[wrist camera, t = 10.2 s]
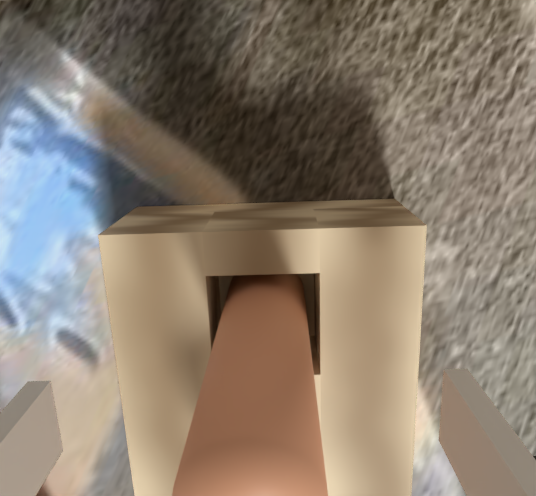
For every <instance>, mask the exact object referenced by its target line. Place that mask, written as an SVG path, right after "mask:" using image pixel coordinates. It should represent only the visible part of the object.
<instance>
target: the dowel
mask: <svg viewBox="0 0 536 496" xmlns="http://www.w3.org/2000/svg"><path fill="white" fill-rule="evenodd" d="M172 496H328V490H327V482H326V473H325V465H324V456H323V448H322V439H321V431H320V423H319V414H318V406H317V397H316V389H315V380H314V372H313V363H312V355H311V346H310V338H309V329H308V321H307V313H306V304H305V296H304V288H303V284H302V281H301V279H300V277H299V276H298V274H269V275H234V276H233V278H232V280H231V283H230V286H229V290H228V293H227V297H226V300H225V304H224V307H223V311H222V315H221V318H220V322H219V325H218V329H217V332H216V336H215V340H214V343H213V347H212V350H211V354H210V357H209V361H208V365H207V368H206V372H205V375H204V379H203V382H202V386H201V389H200V393H199V397H198V400H197V404H196V407H195V411H194V414H193V418H192V422H191V425H190V429H189V432H188V436H187V439H186V443H185V447H184V450H183V454H182V457H181V461H180V464H179V468H178V472H177V475H176V479H175V482H174V486H173V492H172Z"/></svg>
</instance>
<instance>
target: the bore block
mask: <svg viewBox="0 0 536 496" xmlns="http://www.w3.org/2000/svg"><path fill="white" fill-rule="evenodd" d="M426 229H427V225H426V224H424V223H423V222H422V221H421V220H420V219H418V218H417V217H416V216H415V215H414V214H412V213H411V212H410V211H409V210H408V209H406V208H405V207H404V206H403V205H402V204H400V203H399V202H398V201H397V200H396V199H368V200H336V201H304V202H272V203H241V204H209V205H177V206H145V207H136V208H135V209H133V210H132V211H131V212H129V213H128V214H127V215H125V216H124V217H122V218H121V219H120V220H118V221H117V222H116V223H114V224H113V225H111V226H110V227H109V228H107V229H106V230H104V231H103V232H102V233H100V234H99V235H98V238H99V245H100V252H101V260H102V267H103V274H104V281H105V288H106V295H107V302H108V309H109V317H110V324H111V331H112V338H113V345H114V352H115V359H116V367H117V374H118V381H119V388H120V395H121V402H122V409H123V416H124V424H125V431H126V438H127V445H128V452H129V459H130V466H131V473H132V481H133V488H134V495H135V496H172V492H173V486H174V482H175V479H176V475H177V472H178V468H179V464H180V461H181V457H182V454H183V450H184V447H185V443H186V439H187V436H188V432H189V429H190V425H191V422H192V418H193V414H194V411H195V407H196V404H197V400H198V397H199V393H200V389H201V386H202V382H203V379H204V375H205V372H206V368H207V365H208V361H209V357H210V354H211V350H212V347H213V343H214V340H215V336H216V332H217V329H218V325H219V322H220V318H221V315H222V311H223V307H224V304H225V300H226V297H227V293H228V290H229V286H230V283H231V280H232V278H233V276H234V275H269V274H298V276H299V277H300V279H301V281H302V284H303V288H304V296H305V304H306V313H307V321H308V329H309V338H310V346H311V355H312V363H313V372H314V380H315V389H316V397H317V406H318V414H319V423H320V431H321V439H322V448H323V456H324V465H325V473H326V482H327V490H328V496H411V490H412V473H413V456H414V438H415V421H416V403H417V386H418V369H419V351H420V334H421V316H422V299H423V282H424V264H425V247H426Z"/></svg>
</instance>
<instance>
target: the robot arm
mask: <svg viewBox="0 0 536 496" xmlns="http://www.w3.org/2000/svg"><path fill="white" fill-rule="evenodd" d="M439 442H440V444H441V446H442V447H443V449H444V451H445V453H446V455H447V457H448V459H449V461H450V463H451V465H452V467H453V469H454V471H455V473H456V475H457V477H458V479H459V481H460V483H461V485H462V487H463V489H464V491H465V493H466V495H467V496H536V456H532V454H531V453H530V452H529V450H528V449H527V448H526V446H525V445H524V444H523V442H522V441H521V440H520V438H519V437H518V436H517V434H516V433H515V432H514V430H513V429H512V428H511V426H510V425H509V424H508V422H507V421H506V420H505V418H504V417H503V416H502V414H501V413H500V412H499V410H498V409H497V408H496V406H495V405H494V404H493V402H492V401H491V400H490V398H489V397H488V396H487V394H486V393H485V392H484V390H483V389H482V388H481V386H480V385H479V384H478V382H477V381H476V380H475V379H474V377H473V376H472V375H471V373H470V372H469V371H468V369H444V374H443V388H442V403H441V417H440V431H439ZM62 452H63V447H62V441H61V436H60V430H59V424H58V419H57V413H56V408H55V402H54V397H53V391H52V386H51V381H32V382H27V383H26V384H25V386H24V387H23V388H22V389H21V390H20V391H19V392H18V393H17V395H16V396H15V397H14V398H13V399H12V400H11V401H10V403H9V404H8V405H7V406H6V407H5V408H4V409H3V410H2V412H1V413H0V496H36V495H37V493H38V491H39V490H40V488H41V486H42V485H43V483H44V481H45V480H46V478H47V476H48V475H49V473H50V471H51V470H52V468H53V466H54V465H55V463H56V462H57V460H58V458H59V457H60V455H61V453H62Z"/></svg>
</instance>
